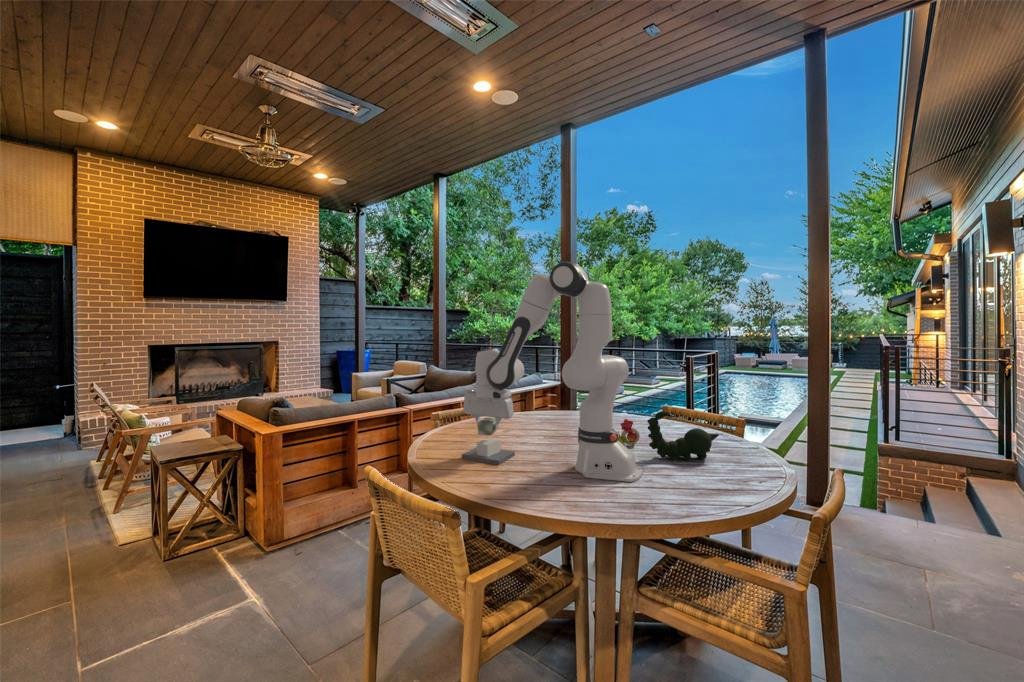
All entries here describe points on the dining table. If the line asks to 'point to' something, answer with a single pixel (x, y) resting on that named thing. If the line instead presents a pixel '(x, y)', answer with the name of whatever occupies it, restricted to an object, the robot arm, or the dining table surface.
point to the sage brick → (486, 426)
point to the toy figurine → (679, 441)
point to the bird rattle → (631, 436)
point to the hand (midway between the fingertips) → (487, 427)
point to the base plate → (492, 459)
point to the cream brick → (488, 447)
